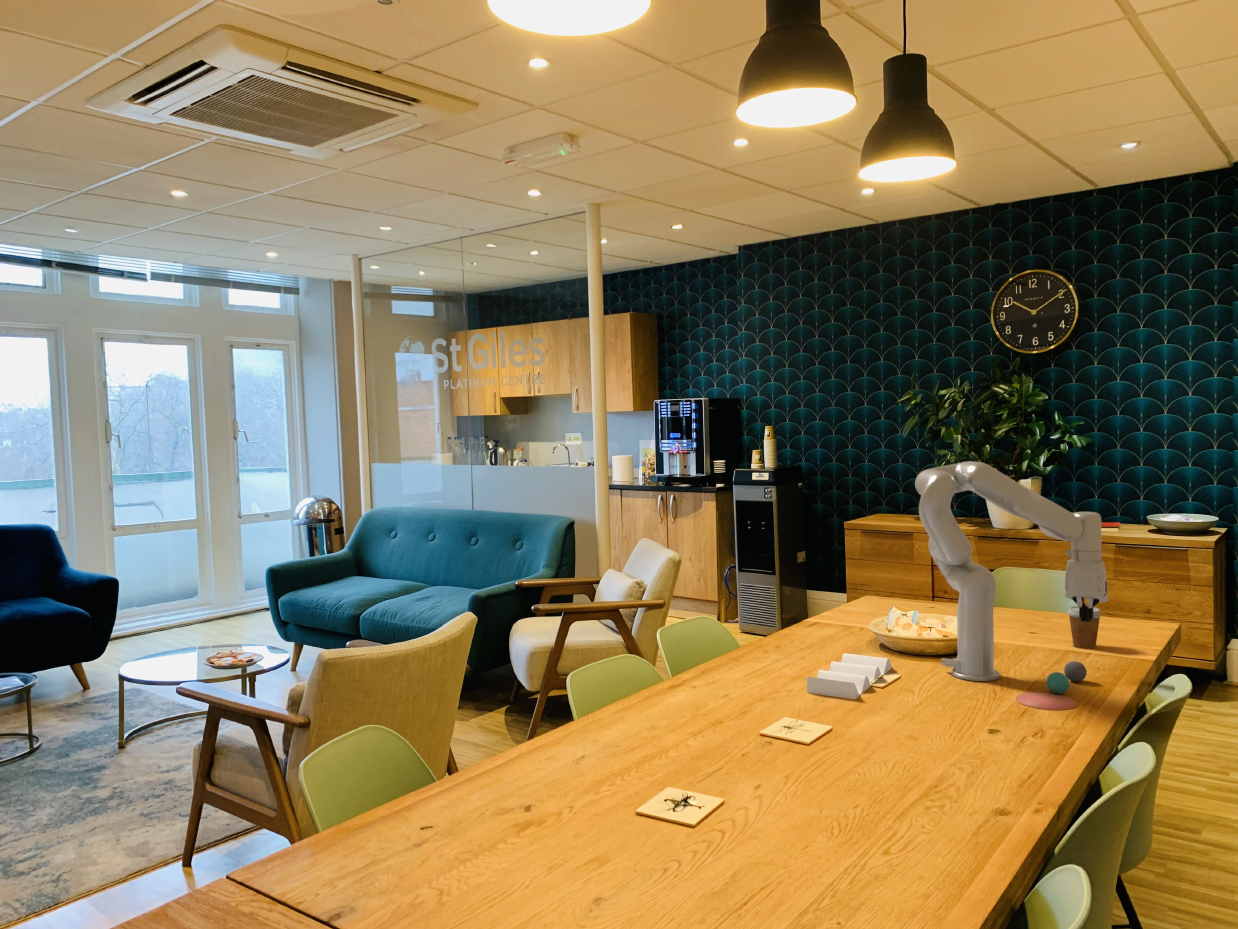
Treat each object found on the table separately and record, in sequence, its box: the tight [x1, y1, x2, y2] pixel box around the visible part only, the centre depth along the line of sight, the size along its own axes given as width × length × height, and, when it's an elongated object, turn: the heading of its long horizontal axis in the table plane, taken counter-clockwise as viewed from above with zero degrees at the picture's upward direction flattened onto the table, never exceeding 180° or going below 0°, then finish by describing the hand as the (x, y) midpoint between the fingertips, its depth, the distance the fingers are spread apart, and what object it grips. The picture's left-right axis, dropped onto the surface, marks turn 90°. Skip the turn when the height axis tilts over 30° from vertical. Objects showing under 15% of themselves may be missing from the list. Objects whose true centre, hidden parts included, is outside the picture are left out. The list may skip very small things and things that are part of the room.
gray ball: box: [1063, 660, 1088, 683], centre depth 244 cm, size 6×6×6 cm
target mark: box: [1015, 691, 1077, 711], centre depth 228 cm, size 14×14×1 cm
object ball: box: [1045, 671, 1071, 695], centre depth 234 cm, size 6×6×6 cm
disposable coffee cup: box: [1067, 605, 1102, 650], centre depth 280 cm, size 10×10×12 cm
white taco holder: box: [806, 652, 893, 700], centre depth 252 cm, size 13×35×5 cm, turn 147°
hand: (1086, 620), depth 250 cm, fingers closed
